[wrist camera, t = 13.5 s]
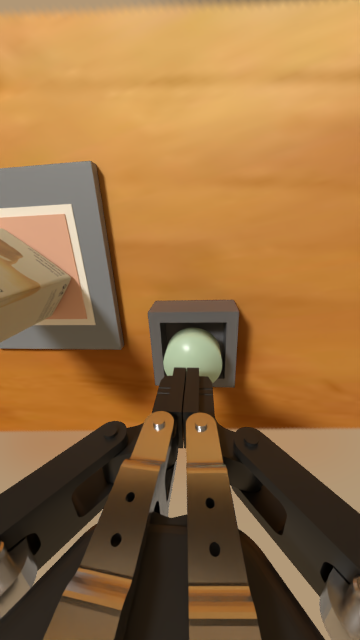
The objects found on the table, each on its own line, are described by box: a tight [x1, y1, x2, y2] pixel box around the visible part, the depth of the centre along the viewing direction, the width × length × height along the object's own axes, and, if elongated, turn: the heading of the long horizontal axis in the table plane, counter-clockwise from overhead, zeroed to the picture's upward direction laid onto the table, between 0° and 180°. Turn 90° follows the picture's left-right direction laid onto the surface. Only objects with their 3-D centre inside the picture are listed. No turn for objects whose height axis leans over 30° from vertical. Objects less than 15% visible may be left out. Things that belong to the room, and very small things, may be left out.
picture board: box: [0, 161, 124, 350], centre depth 18 cm, size 13×14×1 cm
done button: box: [163, 328, 222, 383], centre depth 16 cm, size 4×4×2 cm
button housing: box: [148, 300, 239, 387], centre depth 18 cm, size 6×6×3 cm
